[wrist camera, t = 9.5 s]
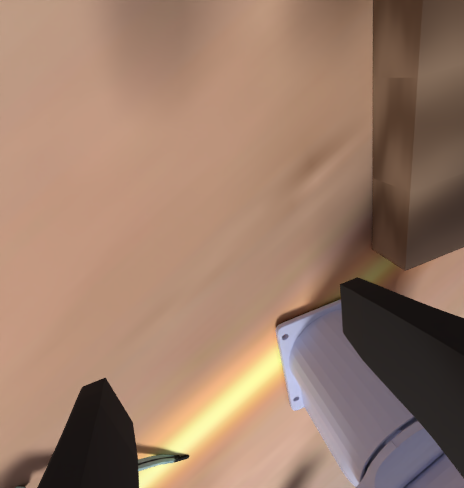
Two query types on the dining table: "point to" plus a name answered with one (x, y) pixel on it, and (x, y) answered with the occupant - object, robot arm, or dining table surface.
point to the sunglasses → (154, 461)
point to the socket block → (418, 129)
